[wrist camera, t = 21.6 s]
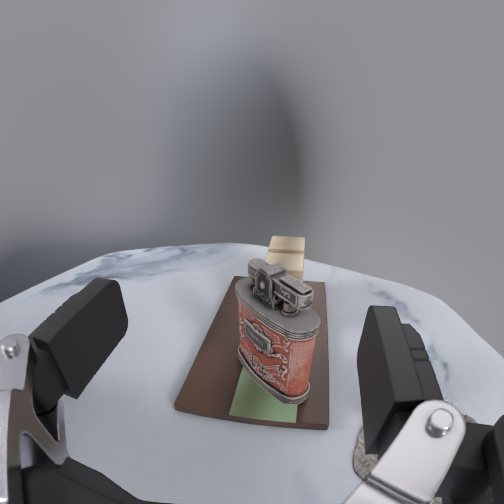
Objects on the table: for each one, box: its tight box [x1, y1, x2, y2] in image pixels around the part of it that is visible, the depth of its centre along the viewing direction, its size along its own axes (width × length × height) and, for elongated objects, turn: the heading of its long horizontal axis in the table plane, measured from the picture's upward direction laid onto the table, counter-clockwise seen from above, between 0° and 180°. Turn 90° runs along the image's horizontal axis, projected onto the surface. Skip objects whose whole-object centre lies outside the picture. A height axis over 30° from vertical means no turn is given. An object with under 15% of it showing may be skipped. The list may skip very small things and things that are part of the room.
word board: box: [174, 236, 329, 430], centre depth 29 cm, size 12×22×7 cm, turn 170°
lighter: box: [235, 258, 321, 405], centre depth 23 cm, size 8×3×10 cm, turn 34°
